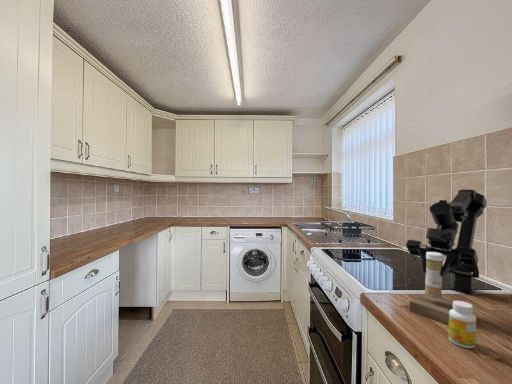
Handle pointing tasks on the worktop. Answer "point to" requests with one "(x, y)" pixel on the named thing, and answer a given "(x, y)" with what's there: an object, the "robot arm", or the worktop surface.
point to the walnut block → (432, 308)
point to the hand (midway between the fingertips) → (432, 273)
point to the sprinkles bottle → (433, 274)
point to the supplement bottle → (462, 325)
